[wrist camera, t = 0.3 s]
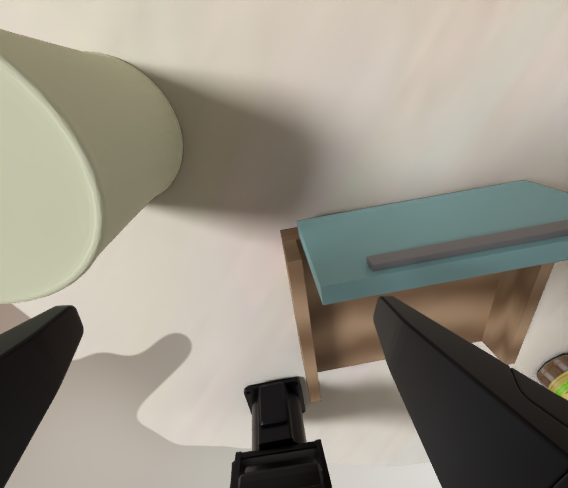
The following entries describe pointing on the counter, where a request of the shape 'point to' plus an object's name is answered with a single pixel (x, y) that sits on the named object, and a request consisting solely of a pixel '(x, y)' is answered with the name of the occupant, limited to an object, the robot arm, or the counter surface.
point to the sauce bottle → (555, 376)
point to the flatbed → (427, 300)
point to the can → (73, 159)
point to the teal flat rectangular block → (435, 240)
